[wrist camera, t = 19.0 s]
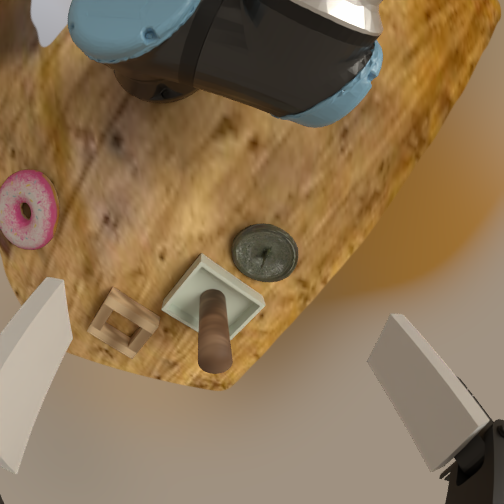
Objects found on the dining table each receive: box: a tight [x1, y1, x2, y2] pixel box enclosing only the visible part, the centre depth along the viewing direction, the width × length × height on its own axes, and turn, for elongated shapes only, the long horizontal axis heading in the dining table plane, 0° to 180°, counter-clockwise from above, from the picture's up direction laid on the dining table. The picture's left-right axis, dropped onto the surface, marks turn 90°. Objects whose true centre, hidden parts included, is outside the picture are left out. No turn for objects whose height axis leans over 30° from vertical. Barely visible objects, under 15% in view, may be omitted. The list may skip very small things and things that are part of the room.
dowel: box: [198, 289, 232, 374], centre depth 43 cm, size 4×4×15 cm
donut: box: [0, 169, 60, 250], centre depth 37 cm, size 14×13×5 cm
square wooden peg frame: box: [87, 287, 160, 359], centre depth 48 cm, size 10×10×3 cm
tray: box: [161, 253, 265, 340], centre depth 49 cm, size 13×11×3 cm
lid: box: [232, 224, 298, 282], centre depth 45 cm, size 11×10×5 cm
